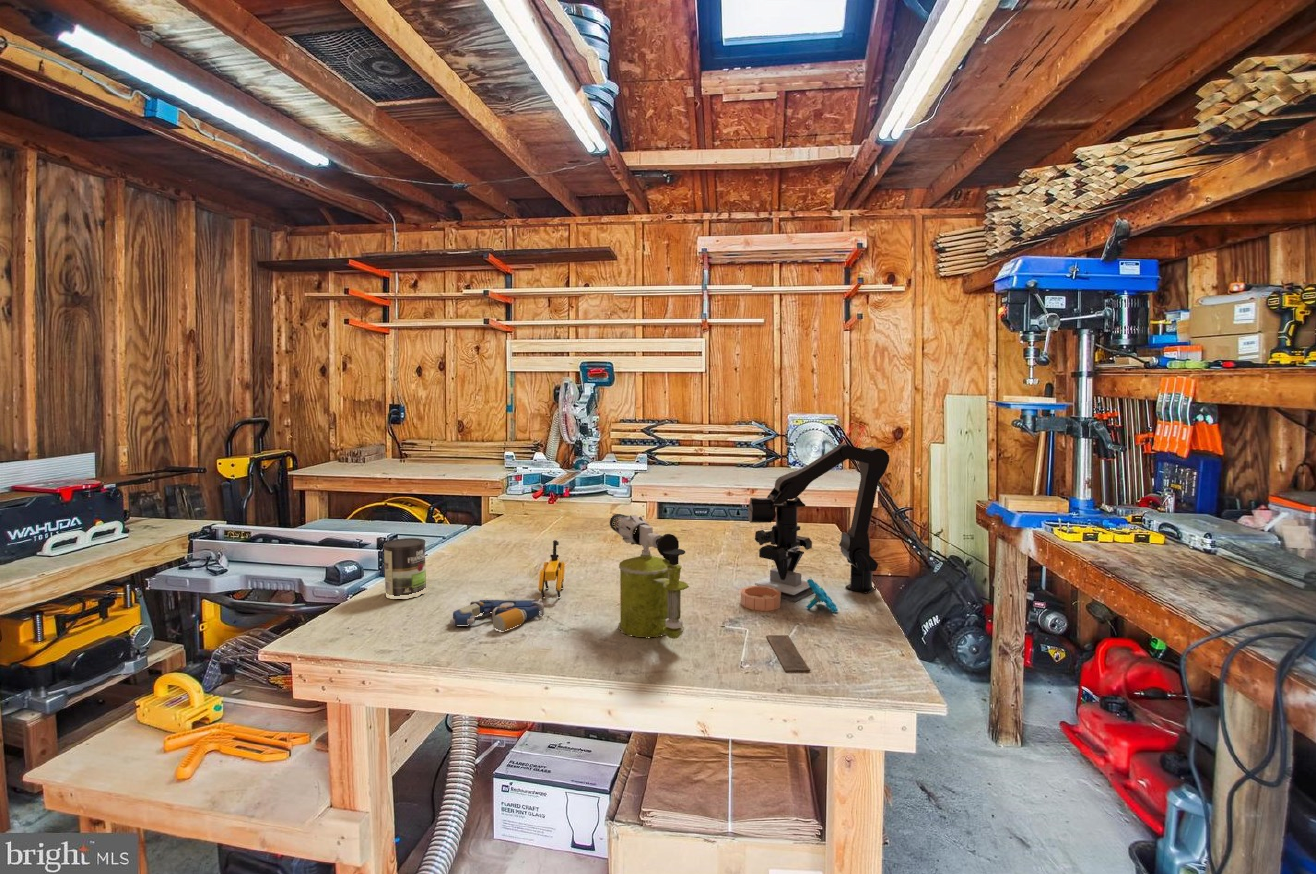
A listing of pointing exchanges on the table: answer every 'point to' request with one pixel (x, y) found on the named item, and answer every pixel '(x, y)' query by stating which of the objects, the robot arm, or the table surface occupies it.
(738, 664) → the table surface
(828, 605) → the gear
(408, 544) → the coffee can
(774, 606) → the dish
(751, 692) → the table surface
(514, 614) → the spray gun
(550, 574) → the robot dog
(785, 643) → the wooden plank
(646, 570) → the blowtorch
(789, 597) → the mat
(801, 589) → the lid
